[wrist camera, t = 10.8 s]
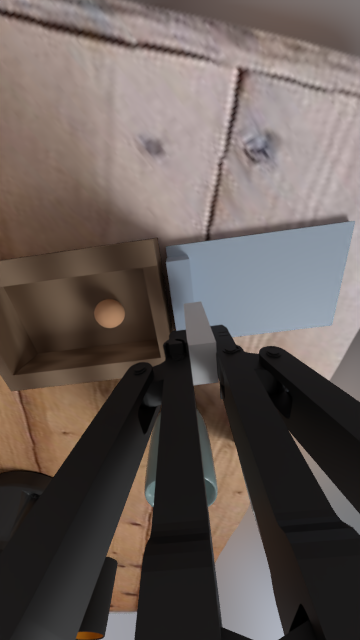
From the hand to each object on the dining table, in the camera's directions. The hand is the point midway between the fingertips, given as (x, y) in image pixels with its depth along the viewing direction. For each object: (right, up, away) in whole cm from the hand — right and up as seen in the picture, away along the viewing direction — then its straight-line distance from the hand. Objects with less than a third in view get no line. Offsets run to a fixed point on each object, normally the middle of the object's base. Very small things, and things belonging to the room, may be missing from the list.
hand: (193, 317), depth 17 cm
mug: (-22, -67, +36) cm, 79 cm away
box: (-11, +1, +6) cm, 13 cm away
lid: (+7, +3, +5) cm, 10 cm away
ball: (-8, +1, +5) cm, 10 cm away
